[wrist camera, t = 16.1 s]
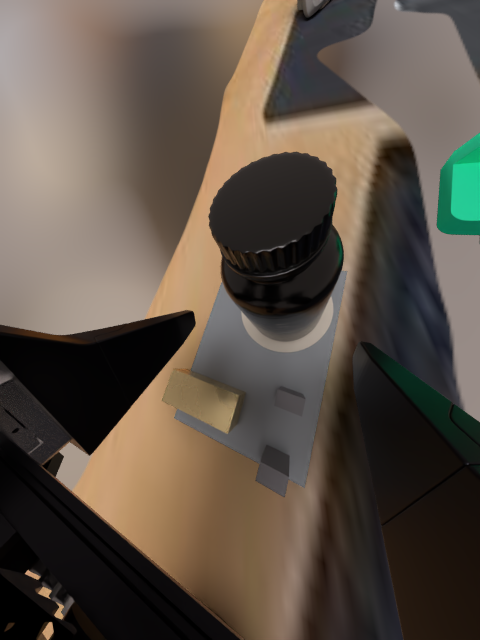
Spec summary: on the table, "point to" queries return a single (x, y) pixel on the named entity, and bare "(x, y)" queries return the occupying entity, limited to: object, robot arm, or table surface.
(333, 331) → the dock board
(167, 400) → the bar
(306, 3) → the digital clock
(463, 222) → the camera mount
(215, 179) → the table surface
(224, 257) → the supplement bottle
